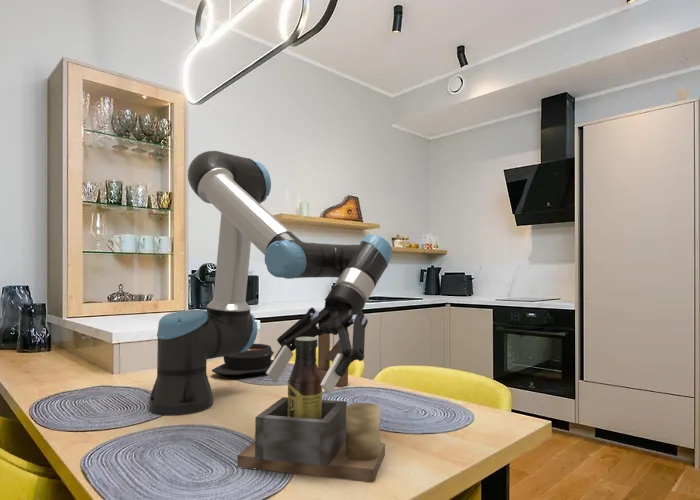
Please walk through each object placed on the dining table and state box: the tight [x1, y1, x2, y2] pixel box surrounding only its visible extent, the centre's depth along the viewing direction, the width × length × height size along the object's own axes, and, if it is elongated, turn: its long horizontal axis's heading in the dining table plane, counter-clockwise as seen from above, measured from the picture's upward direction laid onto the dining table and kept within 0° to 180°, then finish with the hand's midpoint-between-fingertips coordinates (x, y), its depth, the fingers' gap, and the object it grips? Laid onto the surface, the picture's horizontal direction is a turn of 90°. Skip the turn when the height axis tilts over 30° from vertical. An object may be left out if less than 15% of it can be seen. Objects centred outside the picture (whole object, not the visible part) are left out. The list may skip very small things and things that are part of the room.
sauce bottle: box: [287, 336, 323, 419], centre depth 86 cm, size 7×6×20 cm
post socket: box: [236, 396, 386, 483], centre depth 86 cm, size 24×13×10 cm, turn 77°
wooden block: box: [317, 323, 349, 388], centre depth 143 cm, size 4×11×18 cm, turn 47°
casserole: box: [211, 343, 275, 376], centre depth 158 cm, size 25×19×8 cm
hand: (296, 383), depth 85 cm, fingers open, 13 cm apart
